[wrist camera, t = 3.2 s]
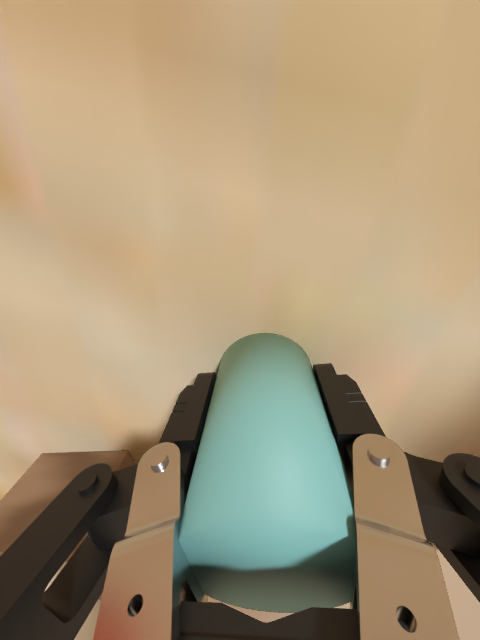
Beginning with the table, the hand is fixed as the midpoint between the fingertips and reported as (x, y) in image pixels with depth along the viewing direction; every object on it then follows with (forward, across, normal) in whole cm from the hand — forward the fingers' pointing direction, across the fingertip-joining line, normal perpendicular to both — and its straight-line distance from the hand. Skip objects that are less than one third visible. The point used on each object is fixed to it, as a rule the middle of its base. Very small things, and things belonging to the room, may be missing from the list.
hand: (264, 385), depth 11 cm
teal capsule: (+1, 0, 0) cm, 1 cm away
